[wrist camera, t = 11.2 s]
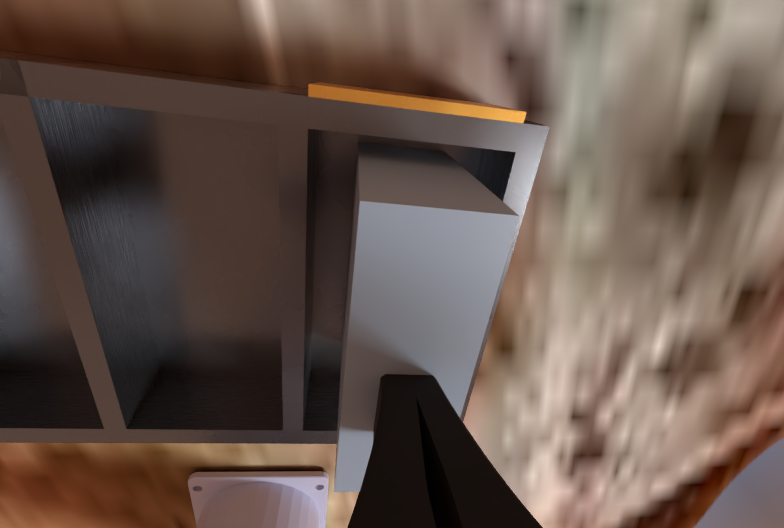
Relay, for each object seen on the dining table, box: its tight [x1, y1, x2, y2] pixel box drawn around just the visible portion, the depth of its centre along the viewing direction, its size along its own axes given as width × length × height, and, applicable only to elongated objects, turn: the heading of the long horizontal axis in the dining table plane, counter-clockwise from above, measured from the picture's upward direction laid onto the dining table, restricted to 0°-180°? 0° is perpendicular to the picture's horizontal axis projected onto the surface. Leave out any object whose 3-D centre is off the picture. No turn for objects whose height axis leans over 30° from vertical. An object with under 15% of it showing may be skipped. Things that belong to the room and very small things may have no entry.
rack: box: [0, 50, 549, 444], centre depth 14 cm, size 14×21×4 cm, turn 83°
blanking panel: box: [334, 142, 519, 492], centre depth 12 cm, size 9×3×7 cm, turn 173°
